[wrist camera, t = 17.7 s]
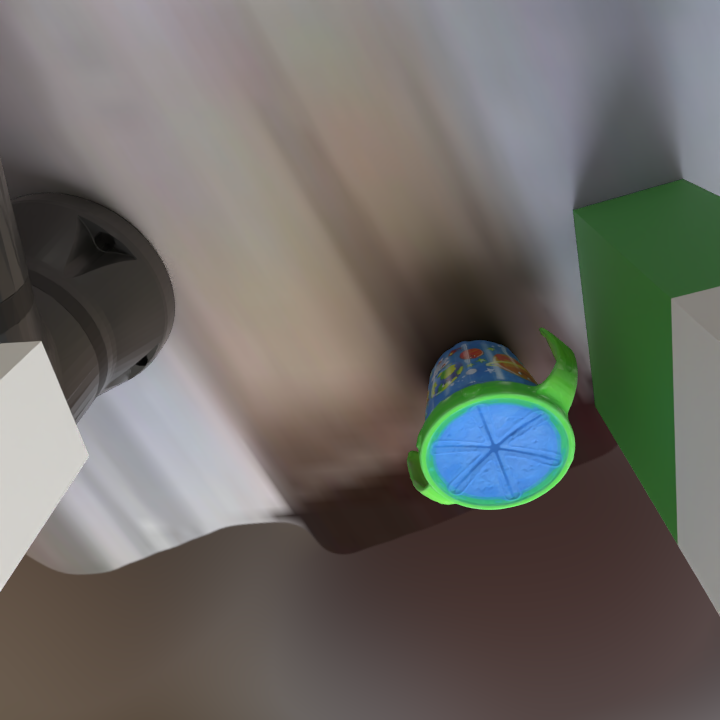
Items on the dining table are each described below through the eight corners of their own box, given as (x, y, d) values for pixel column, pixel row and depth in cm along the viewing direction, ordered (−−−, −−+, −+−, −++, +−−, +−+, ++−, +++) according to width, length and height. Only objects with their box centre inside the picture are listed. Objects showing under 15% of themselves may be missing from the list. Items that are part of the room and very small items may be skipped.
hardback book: (685, 385, 47) (934, 668, 26) (595, 405, 48) (764, 691, 27) (683, 178, 38) (1050, 355, 18) (572, 210, 39) (794, 409, 19)
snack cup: (446, 461, 51) (462, 550, 43) (363, 395, 48) (361, 477, 39) (589, 355, 45) (641, 433, 37) (506, 271, 42) (542, 335, 33)
